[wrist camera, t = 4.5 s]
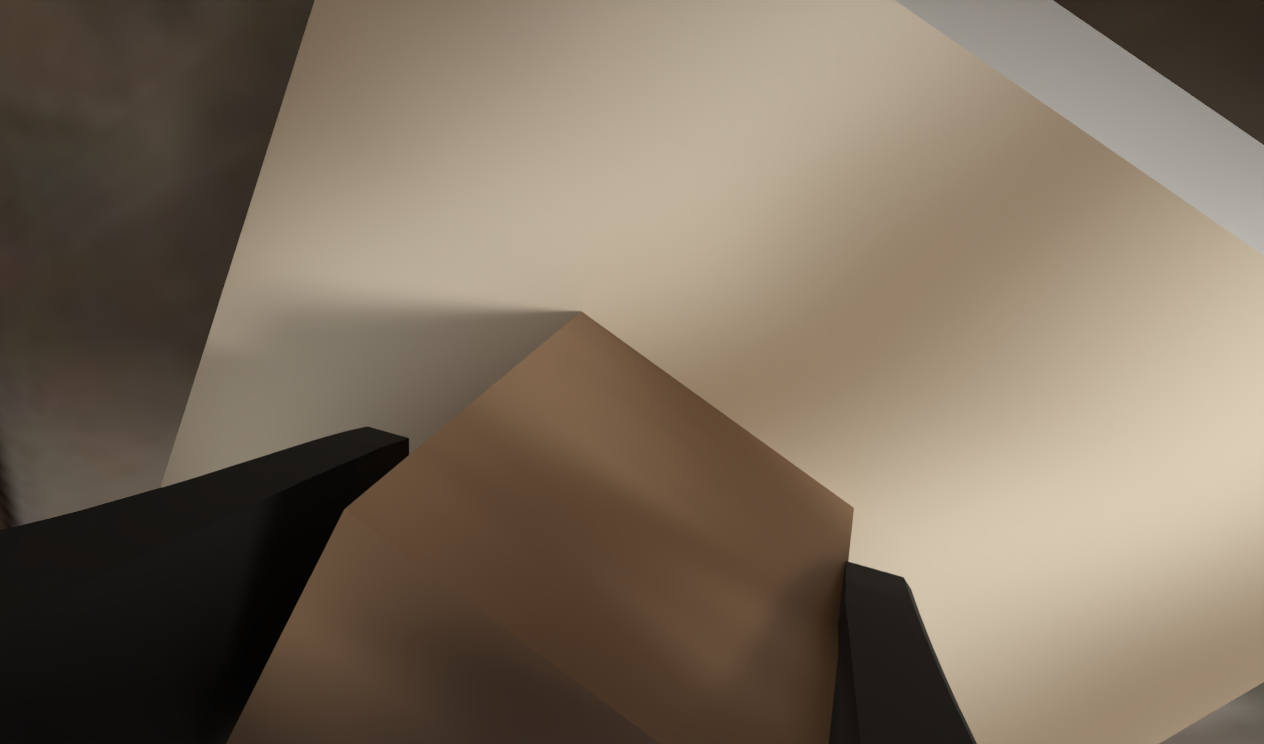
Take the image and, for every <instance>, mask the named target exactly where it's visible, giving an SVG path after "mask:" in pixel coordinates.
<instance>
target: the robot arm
mask: <svg viewBox="0 0 1264 744" xmlns="http://www.w3.org/2000/svg"><path fill="white" fill-rule="evenodd" d="M408 456H409V438H407V437H404V436H400V435H396V434H393V433H389V432H386V431H382V430H379V429H375V428H372V427H368V426H366V427H362V428H357V429H353V430H348V431H345V432H341V433H337V434H333V435H330V436H326V437H323V438H320V439H316V440H313V441H310V442H306V443H303V444H300V445H297V446H293V447H290V448H287V449H284V450H281V451H278V452H274V453H271V454H268V455H265V456H262V457H259V458H256V459H252V460H249V461H246V462H243V463H240V464H237V465H233V466H230V467H227V468H224V469H221V470H218V471H214V472H211V473H208V474H205V475H202V476H199V477H195V478H192V479H189V480H186V481H183V482H179V483H176V484H172V485H169V486H165V487H162V488H158V489H155V490H151V491H148V492H144V493H141V494H137V495H134V496H130V497H127V498H123V499H120V500H116V501H113V502H109V503H105V504H102V505H98V506H95V507H91V508H88V509H84V510H81V511H77V512H73V513H69V514H66V515H62V516H58V517H54V518H50V519H46V520H42V521H37V522H33V523H29V524H25V525H21V526H17V527H12V528H8V529H3V530H0V744H226V743H227V741H228V739H229V737H230V735H231V733H232V731H233V729H234V727H235V725H236V723H237V721H238V719H239V717H240V715H241V713H242V711H243V709H244V707H245V705H246V703H247V701H248V699H249V697H250V695H251V693H252V692H253V690H254V688H255V686H256V684H257V682H258V680H259V678H260V676H261V674H262V672H263V670H264V668H265V666H266V664H267V662H268V660H269V658H270V656H271V654H272V652H273V650H274V648H275V646H276V644H277V642H278V640H279V638H280V636H281V634H282V632H283V630H284V628H285V626H286V624H287V622H288V620H289V618H290V616H291V614H292V612H293V610H294V608H295V606H296V604H297V602H298V600H299V598H300V596H301V594H302V592H303V590H304V588H305V586H306V584H307V582H308V580H309V578H310V577H311V575H312V573H313V571H314V569H315V567H316V565H317V563H318V561H319V559H320V557H321V555H322V553H323V551H324V549H325V547H326V545H327V543H328V541H329V539H330V537H331V535H332V533H333V531H334V529H335V527H336V525H337V523H338V521H339V519H340V517H341V515H342V513H343V511H344V509H345V508H347V507H348V506H349V505H350V504H351V503H352V502H354V501H355V500H356V499H357V498H358V497H360V496H361V495H362V494H363V493H364V492H366V491H367V490H368V489H369V488H370V487H372V486H373V485H374V484H375V483H376V482H378V481H379V480H380V479H381V478H382V477H384V476H385V475H386V474H387V473H388V472H390V471H391V470H392V469H393V468H394V467H396V466H397V465H398V464H399V463H400V462H402V461H403V460H404V459H405V458H406V457H408ZM829 744H977V743H976V741H975V739H974V737H973V734H972V732H971V730H970V728H969V726H968V724H967V722H966V720H965V718H964V716H963V714H962V712H961V710H960V707H959V705H958V703H957V701H956V699H955V697H954V694H953V692H952V690H951V688H950V686H949V683H948V681H947V679H946V677H945V674H944V672H943V670H942V667H941V665H940V662H939V660H938V658H937V655H936V653H935V651H934V648H933V646H932V643H931V641H930V638H929V636H928V633H927V631H926V628H925V626H924V623H923V621H922V618H921V615H920V613H919V610H918V607H917V605H916V602H915V599H914V596H913V593H912V590H911V588H910V587H909V585H908V583H907V582H906V580H905V579H904V577H901V576H898V575H894V574H891V573H887V572H883V571H880V570H876V569H873V568H869V567H866V566H862V565H859V564H855V563H851V562H848V561H846V562H845V569H844V578H843V587H842V596H841V605H840V614H839V623H838V662H837V671H836V681H835V690H834V699H833V709H832V718H831V727H830V737H829Z"/></svg>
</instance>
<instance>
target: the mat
mask: <svg viewBox="0 0 1264 744" xmlns="http://www.w3.org/2000/svg"><path fill="white" fill-rule="evenodd" d="M895 1H897V2H898V3H899V4H901V5H902V6H904V7H905V8H907V9H908V10H910V11H911V12H912V13H914V14H915V15H917V16H918V17H920V18H921V19H923V20H924V21H925V22H927V23H928V24H930V25H931V26H933V27H934V28H936V29H937V30H938V31H940V32H941V33H943V34H944V35H946V36H947V37H949V38H950V39H951V40H953V41H954V42H956V43H957V44H959V45H960V46H962V47H963V48H964V49H966V50H967V51H969V52H970V53H972V54H973V55H975V56H976V57H977V58H979V59H980V60H982V61H983V62H985V63H986V64H988V65H989V66H990V67H992V68H993V69H995V70H996V71H998V72H999V73H1001V74H1002V75H1003V76H1005V77H1006V78H1008V79H1009V80H1011V81H1012V82H1014V83H1015V84H1016V85H1018V86H1019V87H1021V88H1022V89H1024V90H1025V91H1027V92H1028V93H1029V94H1031V95H1032V96H1034V97H1035V98H1037V99H1038V100H1040V101H1041V102H1042V103H1044V104H1045V105H1047V106H1048V107H1050V108H1051V109H1053V110H1054V111H1055V112H1057V113H1058V114H1060V115H1061V116H1063V117H1064V118H1066V119H1067V120H1069V121H1070V122H1071V123H1073V124H1074V125H1076V126H1077V127H1079V128H1080V129H1082V130H1083V131H1084V132H1086V133H1087V134H1089V135H1090V136H1092V137H1093V138H1095V139H1096V140H1097V141H1099V142H1100V143H1102V144H1103V145H1105V146H1106V147H1108V148H1109V149H1110V150H1112V151H1113V152H1115V153H1116V154H1118V155H1119V156H1121V157H1122V158H1123V159H1125V160H1126V161H1128V162H1129V163H1131V164H1132V165H1134V166H1135V167H1136V168H1138V169H1139V170H1141V171H1142V172H1144V173H1145V174H1147V175H1148V176H1149V177H1151V178H1152V179H1154V180H1155V181H1157V182H1158V183H1160V184H1161V185H1162V186H1164V187H1165V188H1167V189H1168V190H1170V191H1171V192H1173V193H1174V194H1175V195H1177V196H1178V197H1180V198H1181V199H1183V200H1184V201H1186V202H1187V203H1188V204H1190V205H1191V206H1193V207H1194V208H1196V209H1197V210H1199V211H1200V212H1201V213H1203V214H1204V215H1206V216H1207V217H1209V218H1210V219H1212V220H1213V221H1214V222H1216V223H1217V224H1219V225H1220V226H1222V227H1223V228H1225V229H1226V230H1227V231H1229V232H1230V233H1232V234H1233V235H1235V236H1236V237H1238V238H1239V239H1240V240H1242V241H1243V242H1245V243H1246V244H1248V245H1249V246H1251V247H1252V248H1253V249H1255V250H1256V251H1258V252H1259V253H1261V254H1262V255H1264V145H1263V144H1262V143H1260V142H1259V141H1257V140H1256V139H1254V138H1253V137H1251V136H1250V135H1248V134H1247V133H1245V132H1244V131H1243V130H1241V129H1240V128H1238V127H1237V126H1235V125H1234V124H1232V123H1231V122H1229V121H1228V120H1227V119H1225V118H1224V117H1222V116H1221V115H1219V114H1218V113H1216V112H1215V111H1213V110H1212V109H1211V108H1209V107H1208V106H1206V105H1205V104H1203V103H1202V102H1200V101H1199V100H1197V99H1196V98H1195V97H1193V96H1192V95H1190V94H1189V93H1187V92H1186V91H1184V90H1183V89H1181V88H1180V87H1178V86H1177V85H1176V84H1174V83H1173V82H1171V81H1170V80H1168V79H1167V78H1165V77H1164V76H1162V75H1161V74H1160V73H1158V72H1157V71H1155V70H1154V69H1152V68H1151V67H1149V66H1148V65H1146V64H1145V63H1144V62H1142V61H1141V60H1139V59H1138V58H1136V57H1135V56H1133V55H1132V54H1130V53H1129V52H1128V51H1126V50H1125V49H1123V48H1122V47H1120V46H1119V45H1117V44H1116V43H1114V42H1113V41H1112V40H1110V39H1109V38H1107V37H1106V36H1104V35H1103V34H1101V33H1100V32H1098V31H1097V30H1095V29H1094V28H1093V27H1091V26H1090V25H1088V24H1087V23H1085V22H1084V21H1082V20H1081V19H1079V18H1078V17H1077V16H1075V15H1074V14H1072V13H1071V12H1069V11H1068V10H1066V9H1065V8H1063V7H1062V6H1061V5H1059V4H1058V3H1056V2H1055V1H1053V0H895Z"/></svg>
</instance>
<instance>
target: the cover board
mask: <svg viewBox="0 0 1264 744" xmlns="http://www.w3.org/2000/svg"><path fill="white" fill-rule="evenodd" d="M366 426H368V427H372V428H375V429H379V430H382V431H386V432H389V433H393V434H396V435H400V436H404V437H407V438H409V456H408V457H406V458H405V459H404V460H403V461H402V462H400V463H399V464H398V465H397V466H396V467H394V468H393V469H392V470H391V471H390V472H388V473H387V474H386V475H385V476H384V477H382V478H381V479H380V480H379V481H378V482H376V483H375V484H374V485H373V486H372V487H370V488H369V489H368V490H367V491H366V492H364V493H363V494H362V495H361V496H360V497H358V498H357V499H356V500H355V501H354V502H352V503H351V504H350V505H349V506H348V507H347V508H345V509H344V511H343V513H342V515H341V517H340V519H339V521H338V523H337V525H336V527H335V529H334V531H333V533H332V535H331V537H330V539H329V541H328V543H327V545H326V547H325V549H324V551H323V553H322V555H321V557H320V559H319V561H318V563H317V565H316V567H315V569H314V571H313V573H312V575H311V577H310V578H309V580H308V582H307V584H306V586H305V588H304V590H303V592H302V594H301V596H300V598H299V600H298V602H297V604H296V606H295V608H294V610H293V612H292V614H291V616H290V618H289V620H288V622H287V624H286V626H285V628H284V630H283V632H282V634H281V636H280V638H279V640H278V642H277V644H276V646H275V648H274V650H273V652H272V654H271V656H270V658H269V660H268V662H267V664H266V666H265V668H264V670H263V672H262V674H261V676H260V678H259V680H258V682H257V684H256V686H255V688H254V690H253V692H252V693H251V695H250V697H249V699H248V701H247V703H246V705H245V707H244V709H243V711H242V713H241V715H240V717H239V719H238V721H237V723H236V725H235V727H234V729H233V731H232V733H231V735H230V737H229V739H228V741H227V743H226V744H829V737H830V727H831V718H832V709H833V699H834V690H835V681H836V671H837V662H838V623H839V614H840V605H841V596H842V587H843V578H844V569H845V562H846V561H848V562H851V563H855V564H859V565H862V566H866V567H869V568H873V569H876V570H880V571H883V572H887V573H891V574H894V575H898V576H901V577H904V579H905V580H906V582H907V583H908V585H909V587H910V588H911V590H912V593H913V596H914V599H915V602H916V605H917V607H918V610H919V613H920V615H921V618H922V621H923V623H924V626H925V628H926V631H927V633H928V636H929V638H930V641H931V643H932V646H933V648H934V651H935V653H936V655H937V658H938V660H939V662H940V665H941V667H942V670H943V672H944V674H945V677H946V679H947V681H948V683H949V686H950V688H951V690H952V692H953V694H954V697H955V699H956V701H957V703H958V705H959V707H960V710H961V712H962V714H963V716H964V718H965V720H966V722H967V724H968V726H969V728H970V730H971V732H972V734H973V737H974V739H975V741H976V743H977V744H1159V743H1161V742H1162V741H1164V740H1166V739H1168V738H1169V737H1171V736H1173V735H1174V734H1176V733H1178V732H1179V731H1181V730H1183V729H1185V728H1186V727H1188V726H1190V725H1191V724H1193V723H1195V722H1196V721H1198V720H1200V719H1202V718H1203V717H1205V716H1207V715H1208V714H1210V713H1212V712H1213V711H1215V710H1217V709H1219V708H1220V707H1222V706H1224V705H1225V704H1227V703H1229V702H1230V701H1232V700H1234V699H1236V698H1237V697H1239V696H1241V695H1242V694H1244V693H1246V692H1247V691H1249V690H1251V689H1253V688H1254V687H1256V686H1258V685H1259V684H1261V683H1263V682H1264V255H1262V254H1261V253H1259V252H1258V251H1256V250H1255V249H1253V248H1252V247H1251V246H1249V245H1248V244H1246V243H1245V242H1243V241H1242V240H1240V239H1239V238H1238V237H1236V236H1235V235H1233V234H1232V233H1230V232H1229V231H1227V230H1226V229H1225V228H1223V227H1222V226H1220V225H1219V224H1217V223H1216V222H1214V221H1213V220H1212V219H1210V218H1209V217H1207V216H1206V215H1204V214H1203V213H1201V212H1200V211H1199V210H1197V209H1196V208H1194V207H1193V206H1191V205H1190V204H1188V203H1187V202H1186V201H1184V200H1183V199H1181V198H1180V197H1178V196H1177V195H1175V194H1174V193H1173V192H1171V191H1170V190H1168V189H1167V188H1165V187H1164V186H1162V185H1161V184H1160V183H1158V182H1157V181H1155V180H1154V179H1152V178H1151V177H1149V176H1148V175H1147V174H1145V173H1144V172H1142V171H1141V170H1139V169H1138V168H1136V167H1135V166H1134V165H1132V164H1131V163H1129V162H1128V161H1126V160H1125V159H1123V158H1122V157H1121V156H1119V155H1118V154H1116V153H1115V152H1113V151H1112V150H1110V149H1109V148H1108V147H1106V146H1105V145H1103V144H1102V143H1100V142H1099V141H1097V140H1096V139H1095V138H1093V137H1092V136H1090V135H1089V134H1087V133H1086V132H1084V131H1083V130H1082V129H1080V128H1079V127H1077V126H1076V125H1074V124H1073V123H1071V122H1070V121H1069V120H1067V119H1066V118H1064V117H1063V116H1061V115H1060V114H1058V113H1057V112H1055V111H1054V110H1053V109H1051V108H1050V107H1048V106H1047V105H1045V104H1044V103H1042V102H1041V101H1040V100H1038V99H1037V98H1035V97H1034V96H1032V95H1031V94H1029V93H1028V92H1027V91H1025V90H1024V89H1022V88H1021V87H1019V86H1018V85H1016V84H1015V83H1014V82H1012V81H1011V80H1009V79H1008V78H1006V77H1005V76H1003V75H1002V74H1001V73H999V72H998V71H996V70H995V69H993V68H992V67H990V66H989V65H988V64H986V63H985V62H983V61H982V60H980V59H979V58H977V57H976V56H975V55H973V54H972V53H970V52H969V51H967V50H966V49H964V48H963V47H962V46H960V45H959V44H957V43H956V42H954V41H953V40H951V39H950V38H949V37H947V36H946V35H944V34H943V33H941V32H940V31H938V30H937V29H936V28H934V27H933V26H931V25H930V24H928V23H927V22H925V21H924V20H923V19H921V18H920V17H918V16H917V15H915V14H914V13H912V12H911V11H910V10H908V9H907V8H905V7H904V6H902V5H901V4H899V3H898V2H897V1H895V0H314V4H313V7H312V10H311V13H310V16H309V19H308V23H307V26H306V29H305V32H304V35H303V38H302V42H301V45H300V48H299V51H298V54H297V57H296V61H295V64H294V67H293V70H292V73H291V76H290V80H289V83H288V86H287V89H286V92H285V95H284V99H283V102H282V105H281V108H280V111H279V114H278V118H277V121H276V124H275V127H274V130H273V133H272V136H271V140H270V143H269V146H268V149H267V152H266V155H265V159H264V162H263V165H262V168H261V171H260V174H259V178H258V181H257V184H256V187H255V190H254V193H253V197H252V200H251V203H250V206H249V209H248V212H247V216H246V219H245V222H244V225H243V228H242V231H241V235H240V238H239V241H238V244H237V247H236V250H235V254H234V257H233V260H232V263H231V266H230V269H229V272H228V276H227V279H226V282H225V285H224V288H223V291H222V295H221V298H220V301H219V304H218V307H217V310H216V314H215V317H214V320H213V323H212V326H211V329H210V333H209V336H208V339H207V342H206V345H205V348H204V352H203V355H202V358H201V361H200V364H199V367H198V371H197V374H196V377H195V380H194V383H193V386H192V390H191V393H190V396H189V399H188V402H187V405H186V408H185V412H184V415H183V418H182V421H181V424H180V427H179V431H178V434H177V437H176V440H175V443H174V446H173V450H172V453H171V456H170V459H169V462H168V465H167V469H166V472H165V475H164V478H163V481H162V484H161V488H162V487H165V486H169V485H172V484H176V483H179V482H183V481H186V480H189V479H192V478H195V477H199V476H202V475H205V474H208V473H211V472H214V471H218V470H221V469H224V468H227V467H230V466H233V465H237V464H240V463H243V462H246V461H249V460H252V459H256V458H259V457H262V456H265V455H268V454H271V453H274V452H278V451H281V450H284V449H287V448H290V447H293V446H297V445H300V444H303V443H306V442H310V441H313V440H316V439H320V438H323V437H326V436H330V435H333V434H337V433H341V432H345V431H348V430H353V429H357V428H362V427H366Z"/></svg>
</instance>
